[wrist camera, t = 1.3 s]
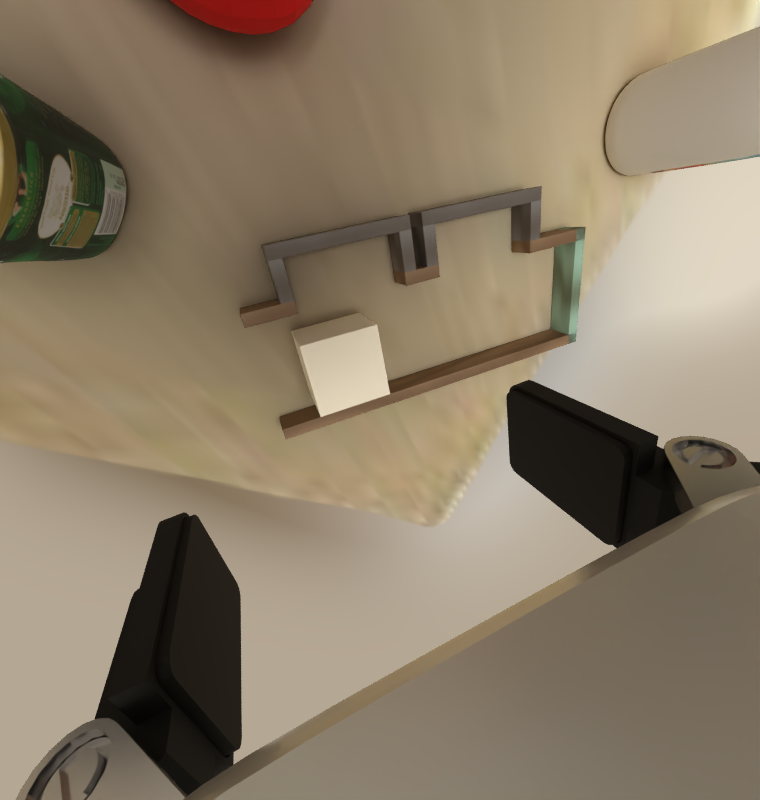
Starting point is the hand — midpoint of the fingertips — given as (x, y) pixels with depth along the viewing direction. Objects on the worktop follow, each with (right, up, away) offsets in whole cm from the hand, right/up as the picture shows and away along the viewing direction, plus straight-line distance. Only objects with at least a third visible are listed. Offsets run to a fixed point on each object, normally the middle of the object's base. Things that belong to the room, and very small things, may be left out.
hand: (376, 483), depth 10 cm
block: (-4, +6, +22) cm, 23 cm away
